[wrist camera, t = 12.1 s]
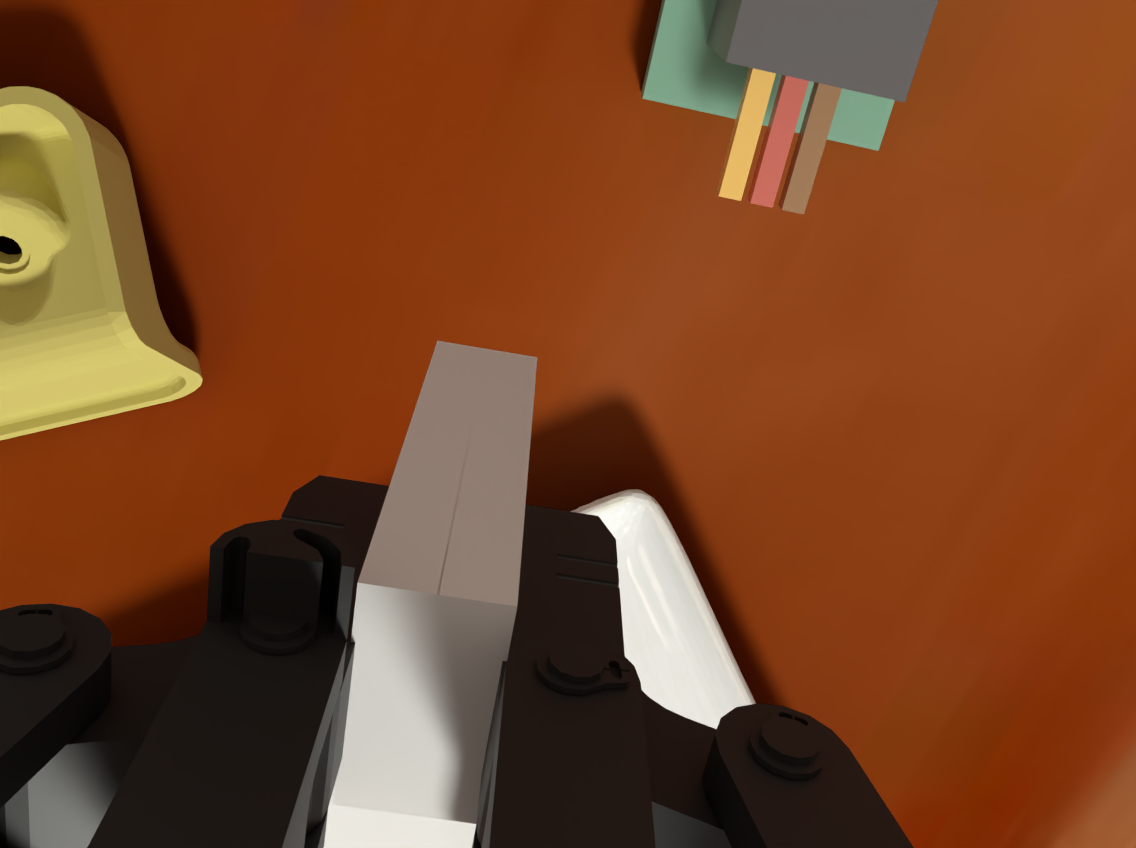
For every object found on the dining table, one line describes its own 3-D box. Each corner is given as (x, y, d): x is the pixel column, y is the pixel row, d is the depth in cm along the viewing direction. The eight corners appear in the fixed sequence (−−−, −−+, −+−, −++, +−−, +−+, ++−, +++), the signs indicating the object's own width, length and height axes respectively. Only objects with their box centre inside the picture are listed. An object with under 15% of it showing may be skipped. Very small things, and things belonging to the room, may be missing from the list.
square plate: (395, 1059, 57) (382, 1132, 54) (89, 679, 48) (48, 738, 44) (881, 906, 52) (901, 976, 48) (645, 442, 42) (649, 487, 39)
